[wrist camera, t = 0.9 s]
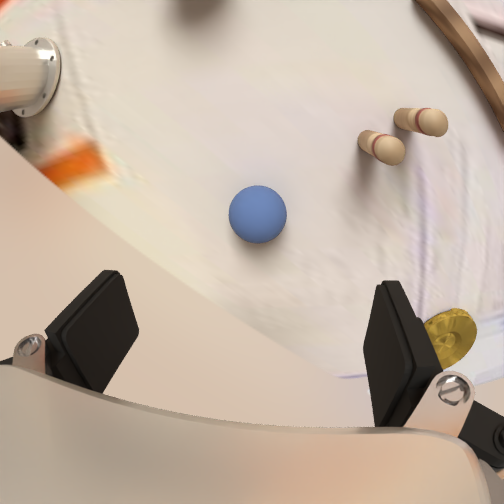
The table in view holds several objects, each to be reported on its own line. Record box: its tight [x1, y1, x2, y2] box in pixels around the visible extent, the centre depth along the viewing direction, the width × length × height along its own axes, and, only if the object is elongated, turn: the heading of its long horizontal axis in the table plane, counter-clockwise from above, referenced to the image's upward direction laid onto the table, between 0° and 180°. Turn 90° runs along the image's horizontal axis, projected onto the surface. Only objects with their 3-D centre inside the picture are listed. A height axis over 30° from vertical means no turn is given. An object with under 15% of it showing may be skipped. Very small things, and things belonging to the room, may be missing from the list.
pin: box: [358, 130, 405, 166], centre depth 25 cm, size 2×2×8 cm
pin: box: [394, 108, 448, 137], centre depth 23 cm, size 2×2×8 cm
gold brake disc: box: [424, 308, 477, 369], centre depth 38 cm, size 12×12×2 cm
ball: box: [229, 186, 287, 243], centre depth 31 cm, size 6×6×6 cm
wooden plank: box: [415, 0, 504, 131], centre depth 20 cm, size 20×2×3 cm, turn 44°
